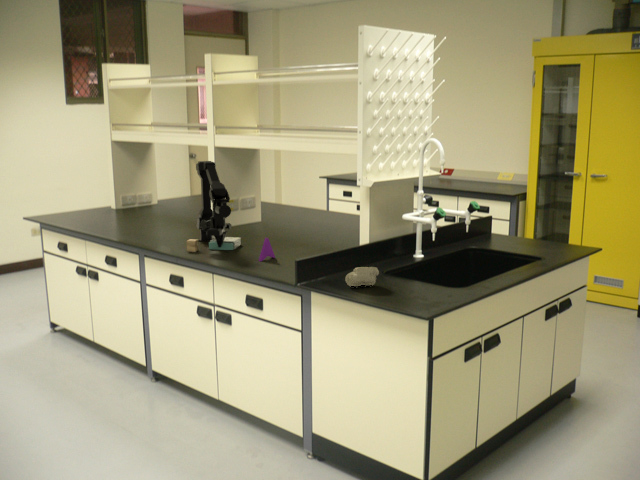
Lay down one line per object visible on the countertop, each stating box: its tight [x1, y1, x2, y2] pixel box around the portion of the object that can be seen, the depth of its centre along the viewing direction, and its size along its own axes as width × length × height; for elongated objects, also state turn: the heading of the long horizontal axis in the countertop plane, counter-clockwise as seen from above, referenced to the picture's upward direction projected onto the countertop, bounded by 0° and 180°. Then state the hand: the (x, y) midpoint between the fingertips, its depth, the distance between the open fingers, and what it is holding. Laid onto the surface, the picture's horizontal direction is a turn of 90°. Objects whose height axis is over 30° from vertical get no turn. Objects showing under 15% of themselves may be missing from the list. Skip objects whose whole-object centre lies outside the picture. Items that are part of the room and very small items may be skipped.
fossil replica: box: [345, 266, 380, 287], centre depth 223 cm, size 12×8×10 cm
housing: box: [209, 236, 242, 250], centre depth 290 cm, size 10×12×4 cm
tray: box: [208, 241, 234, 251], centre depth 288 cm, size 10×12×3 cm
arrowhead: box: [258, 237, 276, 262], centre depth 264 cm, size 10×2×10 cm
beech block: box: [186, 238, 199, 253], centre depth 280 cm, size 4×4×5 cm
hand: (219, 247), depth 282 cm, fingers closed
